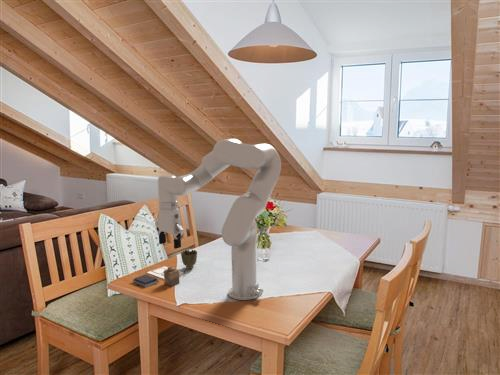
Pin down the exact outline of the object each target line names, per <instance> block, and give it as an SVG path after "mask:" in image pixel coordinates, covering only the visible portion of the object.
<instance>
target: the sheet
mask: <svg viewBox="0 0 500 375" xmlns="http://www.w3.org/2000/svg"><path fill="white" fill-rule="evenodd" d="M168 267H169V266H162V267H159V268H158V267H157V268H156V269H155V268H154V269H152V270H150V271H147V272H146V273H147V275H150V276H153V277H155V278H159V279H163V280H164V270H167V269H168ZM184 274H185V273H184V272H183V271H180V270H179V276H181V275H184Z"/></svg>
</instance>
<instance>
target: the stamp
mask: <svg viewBox="0 0 500 375" xmlns="http://www.w3.org/2000/svg"><path fill="white" fill-rule="evenodd" d="M167 267H168V269H167V270H164V279H163V281H164V282H163V283H164V285H165V286H168V287H174V286H176V285H179V284H180V275H179V271H180V270H179V269H176V267H175V266H167Z"/></svg>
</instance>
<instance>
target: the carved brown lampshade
mask: <svg viewBox="0 0 500 375" xmlns="http://www.w3.org/2000/svg"><path fill="white" fill-rule="evenodd" d="M180 256H181V261H182V264H183V265H184V266H185V269H186V270H192V269H194V265H196V263H197V259H198V258H197V257H198V251H197V250H196V249H191V251H190V250H189V249H184V250H182V251H180Z"/></svg>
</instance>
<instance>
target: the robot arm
mask: <svg viewBox="0 0 500 375" xmlns="http://www.w3.org/2000/svg"><path fill="white" fill-rule="evenodd" d="M230 166H234V167H239V168H243V169H248V170H257V172H256V173H255V175H254V176H253V178H252V180H251V183H250V185H249V187H248V189H247V191H246V192H245V193H244V194H241V195H240V196H239V197H237V198H236V199H235V200H234V202H233V203H232V205H231V208H230V209H229V212H228V214H227V217H226V219H225V221H224V223H223V226H222V228H221V237H222V241H223V242H224V243H225V244H226V245H228V246H229V247H231V284H232V286H231V288H230V289H229V290H228V293H227V294H228V296H229V297H230V298H232V299H235V300H236V301H237V300H238V301H251V300H253V299H257V298H259V297H262V295H263V293H264V289H263V288H259V287H260V286H259V283H257V237H258V224H257V221H256V218H257V217H259V216H260V215H262V214H263V213H264V212H265V210H266V207H267V205H268V203H269V200H270V198H271V195H272V193H273V191H274V189H275V187H276V184H277V183H278V181H279V177H280V174H281V171H282V161H281V157H280V154H279V152H278V151H277V149H276V148H275V147H273V146H272V145H271V144H268V143H257V144H249V143H248V144H247V143H243V142H242V141H240V140H239V139H237V138H234V137H233V138H225V139H221V140H218V141H217V142H216V143H215V144H214V146H213V149H212V150H211V151H210V152H208V153H207V154H206V155H204V156H203V157H202V160H201V164H200V165H199V166H198V167H197V168H195V169H194V170H192V171H191V172H189V173H188V174H184V175H180V176H179V175H178V176H176V175H173V174H161V175H159V176H158V177H157V188H158V189H157V190H158V194H157V195H158V214H157V217H158V218H157V221H156V222H155V223H154V225H155V229H156V231H157V235H158V244H159V245H162V244H166V242H167V235H166V234H171V235H172V236H173V248H174V249H175V250H177V249H179V248H181V247H182V238H183V236H184V232H185V229H184V228H183V226H182V219H181V213H180V210H179V208H178V205H179V204H178V202H179V201H178V196H186V195H188V194H190V193H193V192H196V191H198V190H199V189H201V188H202V187H204V186H205V185H206V184H208V183H210V181H212V180H213V179H214V178H216V176H217V175H219V174H221V172H223V171H225V170H226V169H227V168H229V167H230Z"/></svg>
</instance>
